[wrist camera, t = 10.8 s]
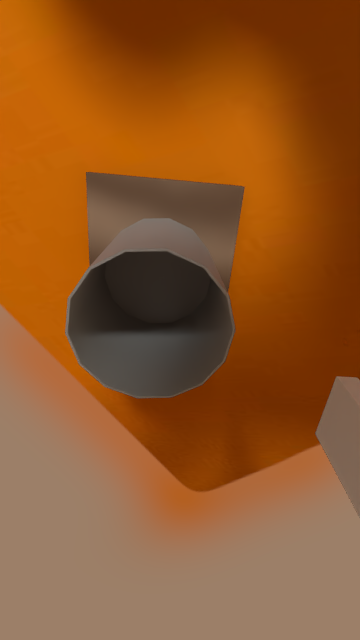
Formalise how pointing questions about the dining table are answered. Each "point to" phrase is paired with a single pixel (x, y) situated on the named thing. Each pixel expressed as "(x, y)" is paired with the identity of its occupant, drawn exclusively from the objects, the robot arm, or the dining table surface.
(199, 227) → the walnut board
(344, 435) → the robot arm
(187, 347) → the cup
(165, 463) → the dining table surface
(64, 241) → the dining table surface
